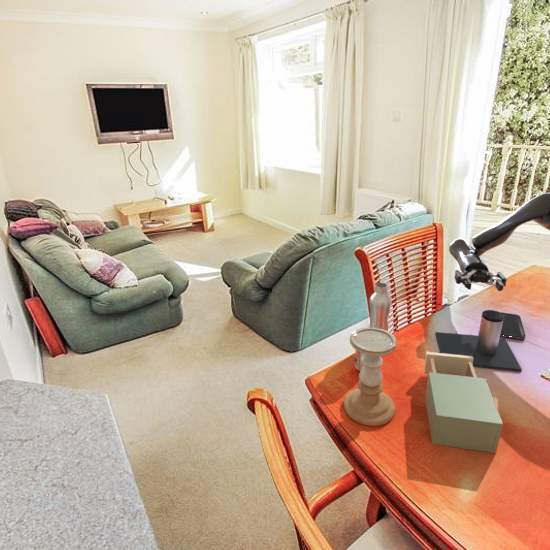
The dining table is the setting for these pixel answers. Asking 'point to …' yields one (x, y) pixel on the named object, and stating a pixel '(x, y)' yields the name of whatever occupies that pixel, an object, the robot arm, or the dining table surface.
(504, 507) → the dining table surface
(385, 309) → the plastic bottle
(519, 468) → the dining table surface
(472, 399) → the cabinet
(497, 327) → the canister
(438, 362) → the drawer
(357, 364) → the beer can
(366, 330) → the candle holder
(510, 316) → the phone
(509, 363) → the mat
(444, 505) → the dining table surface
